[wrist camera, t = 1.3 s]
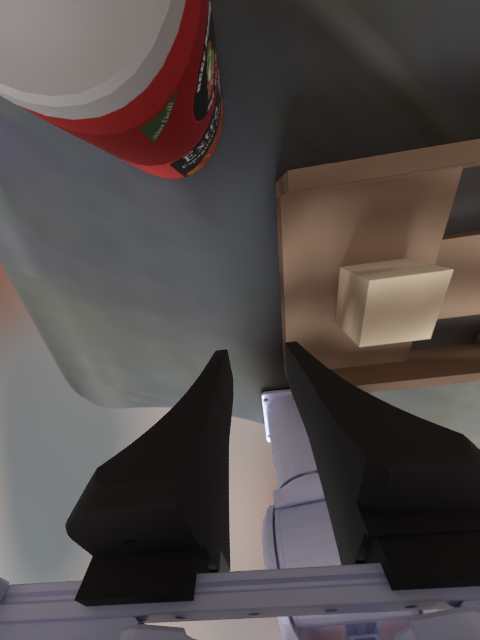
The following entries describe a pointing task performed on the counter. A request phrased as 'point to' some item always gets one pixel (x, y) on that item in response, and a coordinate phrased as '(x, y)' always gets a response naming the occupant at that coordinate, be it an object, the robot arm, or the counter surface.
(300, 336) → the trough
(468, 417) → the counter surface
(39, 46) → the canned food
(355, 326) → the block
